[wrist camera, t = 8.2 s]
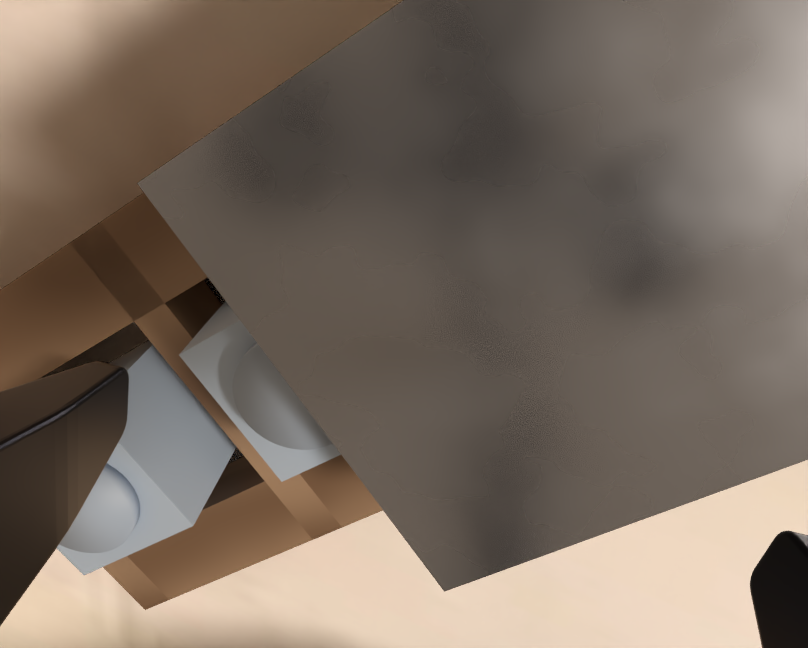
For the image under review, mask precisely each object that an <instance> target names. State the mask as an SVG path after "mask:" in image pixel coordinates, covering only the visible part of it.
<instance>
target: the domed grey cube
mask: <svg viewBox="0 0 808 648" xmlns="http://www.w3.org/2000/svg"><path fill="white" fill-rule="evenodd" d="M109 364H113V365H117V366H121V367H124V368H125V369H126V370H127V371H128V375H129V392H128V415H127V423H126V427H125V430H124V432H123V435H122V437H121V439H120V440H119V442H118V444H117V446H116V448H115V449H114V451H113V453H112V455H111V456H110V458H109V460H108V462H107V464H106V465H105V467H104V469H103V471H102V472H101V474H100V476H99V478H98V480H97V481H96V483H95V485H94V487H93V489H92V490H91V492H90V494H89V496H88V497H87V499H86V501H85V503H84V505H83V506H82V508H81V510H80V512H79V513H78V515H77V517H76V519H75V520H74V522H73V524H72V525H71V527H70V529H69V530H68V532H67V533H66V535H65V536H64V538H63V539H62V541H61V542H60V544H59V545H58V547H57V549H58V550H59V551H60V552H61V553H62V554H63V555H64V556H65V557H66V558H67V559H68V560H69V561H70V562H71V563H72V564H73V565H74V566H75V567H76V568H77V569H78V570H79V571H80V572H81V573H82V574H83V575H86V574H88V573H90V572H93V571H95V570H97V569H99V568H101V567H104V566H106V565H108V564H110V563H113V562H115V561H117V560H119V559H121V558H124V557H126V556H128V555H130V554H132V553H135V552H137V551H139V550H141V549H143V548H146V547H148V546H150V545H152V544H155V543H157V542H159V541H161V540H163V539H166V538H168V537H170V536H172V535H174V534H177V533H179V532H181V531H183V530H185V529H188V528H190V527H192V526H194V524H195V522H196V520H197V518H198V517H199V515H200V513H201V511H202V509H203V507H204V506H205V504H206V502H207V500H208V498H209V496H210V495H211V493H212V491H213V489H214V487H215V485H216V484H217V482H218V480H219V478H220V476H221V474H222V473H223V471H224V469H225V467H226V465H227V463H228V462H229V460H230V458H231V456H232V454H233V452H234V451H235V449H236V445H235V444H234V443H233V442H232V441H231V439H230V438H229V437H228V436H227V434H226V433H225V432H224V431H223V430H222V428H221V427H220V426H219V425H218V423H217V422H216V421H215V420H214V419H213V417H212V416H211V415H210V414H209V412H208V411H207V410H206V409H205V408H204V406H203V405H202V404H201V403H200V401H199V400H198V399H197V398H196V397H195V395H194V394H193V393H192V392H191V390H190V389H189V388H188V387H187V386H186V384H185V383H184V382H183V381H182V379H181V378H180V377H179V376H178V375H177V373H176V372H175V371H174V370H173V368H172V367H171V366H170V365H169V364H168V362H167V361H166V360H165V359H164V358H163V356H162V355H161V354H160V353H159V351H158V350H157V349H156V348H155V347H154V345H153V344H152V343H151V342H150V340H148V341H147V342H145V343H143V344H141V345H140V346H138V347H136V348H135V349H133V350H131V351H129V352H128V353H126V354H124V355H122V356H121V357H119V358H117V359H116V360H114V361H112V362H110V363H109Z"/></svg>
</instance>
